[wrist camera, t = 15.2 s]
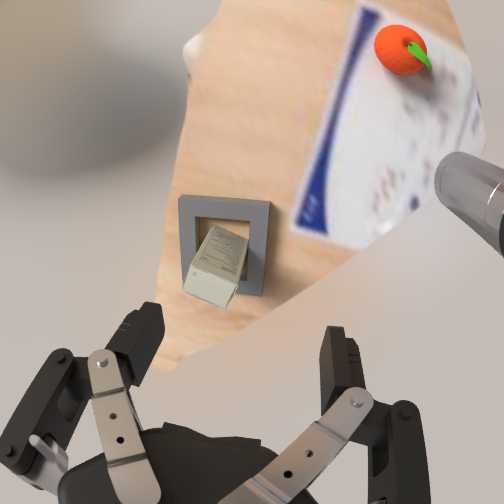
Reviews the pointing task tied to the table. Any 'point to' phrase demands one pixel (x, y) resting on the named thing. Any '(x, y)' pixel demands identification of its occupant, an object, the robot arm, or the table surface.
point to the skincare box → (216, 267)
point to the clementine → (401, 50)
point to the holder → (226, 209)
